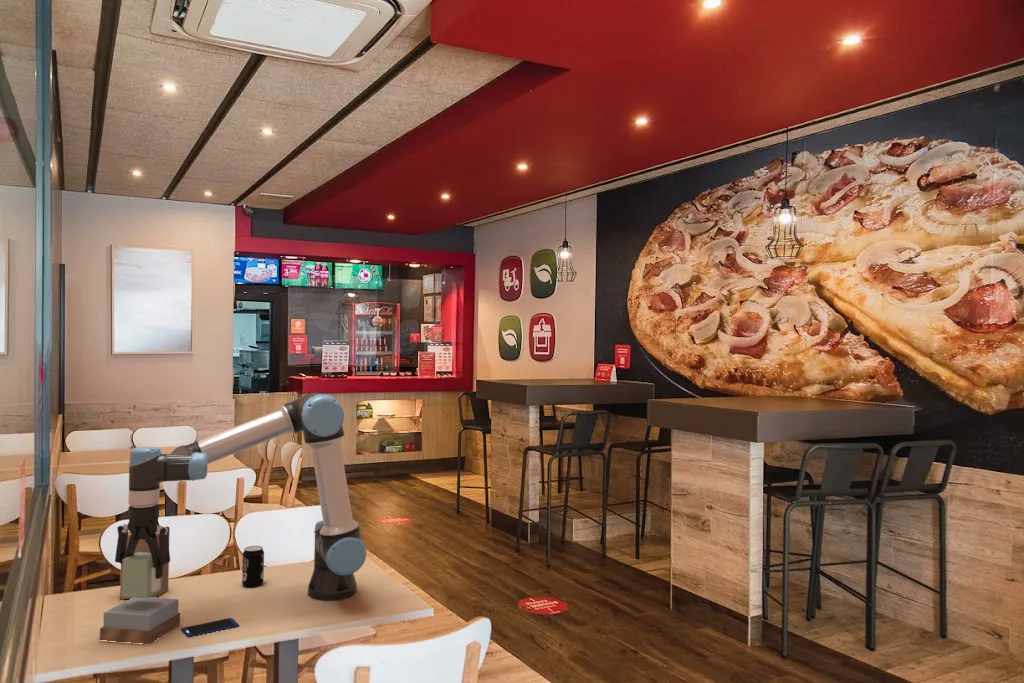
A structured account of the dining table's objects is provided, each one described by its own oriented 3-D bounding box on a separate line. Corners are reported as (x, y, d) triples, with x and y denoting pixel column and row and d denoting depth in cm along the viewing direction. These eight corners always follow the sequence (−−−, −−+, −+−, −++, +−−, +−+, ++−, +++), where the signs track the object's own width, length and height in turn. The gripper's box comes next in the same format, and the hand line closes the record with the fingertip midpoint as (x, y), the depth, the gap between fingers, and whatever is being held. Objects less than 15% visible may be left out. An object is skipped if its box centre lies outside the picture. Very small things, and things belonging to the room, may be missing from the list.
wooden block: (168, 590, 236) (170, 527, 236) (150, 601, 226) (151, 535, 226) (139, 589, 237) (140, 526, 237) (119, 599, 227) (120, 534, 227)
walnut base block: (179, 627, 207) (180, 612, 207) (149, 647, 194) (149, 632, 194) (133, 623, 209) (133, 609, 209) (99, 643, 195) (100, 628, 195)
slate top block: (178, 613, 207) (178, 599, 207) (148, 631, 194) (149, 616, 194) (135, 610, 209) (135, 596, 209) (103, 627, 196) (103, 612, 196)
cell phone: (180, 630, 204) (180, 628, 204) (231, 620, 213) (231, 617, 213) (187, 639, 199) (187, 636, 199) (240, 627, 207) (240, 625, 207)
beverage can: (259, 588, 240) (260, 551, 240) (238, 587, 240) (239, 550, 240) (266, 581, 246) (267, 545, 246) (246, 581, 246) (247, 545, 246)
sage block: (161, 589, 205) (162, 553, 205) (146, 598, 198) (147, 560, 198) (137, 588, 205) (138, 552, 205) (121, 596, 198) (122, 559, 198)
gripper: (186, 503, 204) (184, 587, 204) (118, 500, 206) (116, 582, 206) (170, 509, 197) (168, 596, 197) (100, 505, 199) (98, 591, 199)
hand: (142, 589), depth 201 cm, fingers closed on sage block, 7 cm apart
